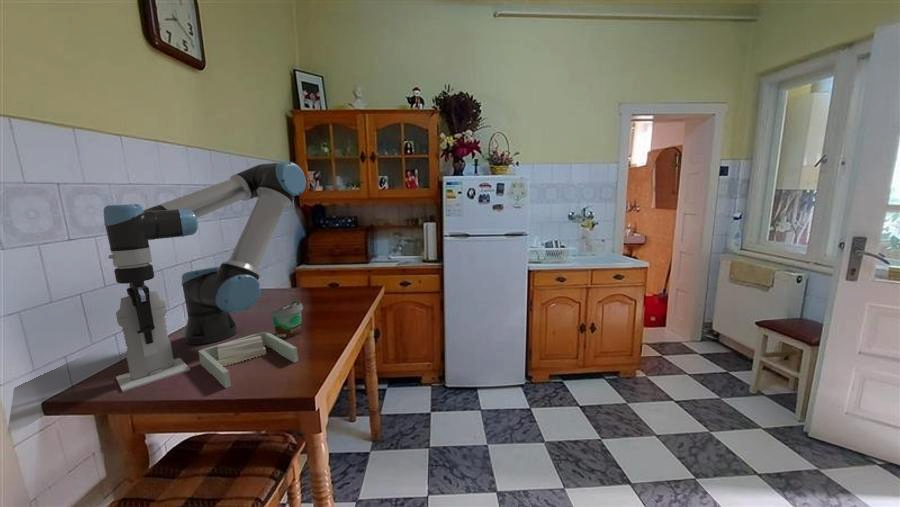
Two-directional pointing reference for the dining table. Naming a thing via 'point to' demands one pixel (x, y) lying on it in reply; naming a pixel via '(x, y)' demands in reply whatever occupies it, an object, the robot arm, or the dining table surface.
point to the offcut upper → (240, 347)
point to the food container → (288, 320)
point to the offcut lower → (239, 357)
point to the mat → (151, 376)
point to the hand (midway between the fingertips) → (149, 352)
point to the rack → (267, 338)
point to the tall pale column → (135, 354)
